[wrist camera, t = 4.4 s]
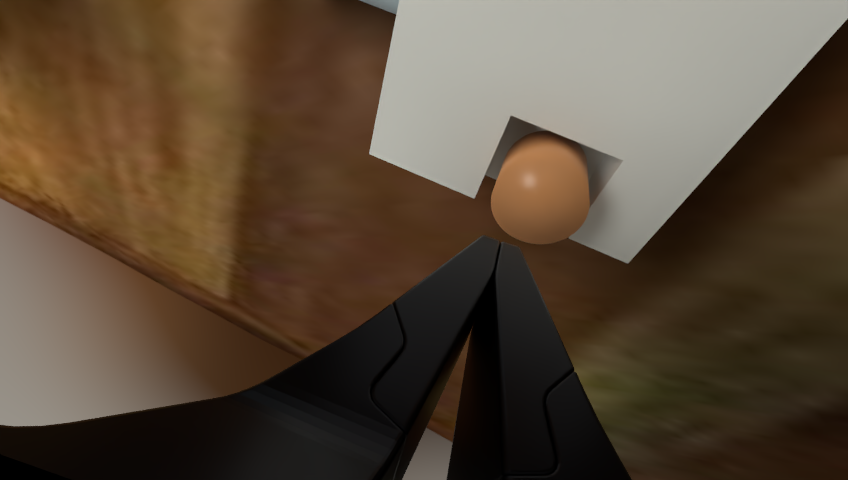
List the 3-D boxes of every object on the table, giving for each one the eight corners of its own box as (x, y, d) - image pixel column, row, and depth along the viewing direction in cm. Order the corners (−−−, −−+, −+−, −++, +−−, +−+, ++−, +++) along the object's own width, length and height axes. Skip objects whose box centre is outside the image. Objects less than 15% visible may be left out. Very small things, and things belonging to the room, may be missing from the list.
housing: (878, -181, 10) (1139, -307, 5) (614, 185, 18) (628, 263, 13) (528, -291, 11) (494, -483, 6) (420, 106, 18) (369, 154, 14)
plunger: (604, 150, 12) (610, 185, 10) (561, 216, 14) (559, 257, 12) (523, 117, 12) (514, 145, 10) (491, 187, 14) (477, 222, 12)
